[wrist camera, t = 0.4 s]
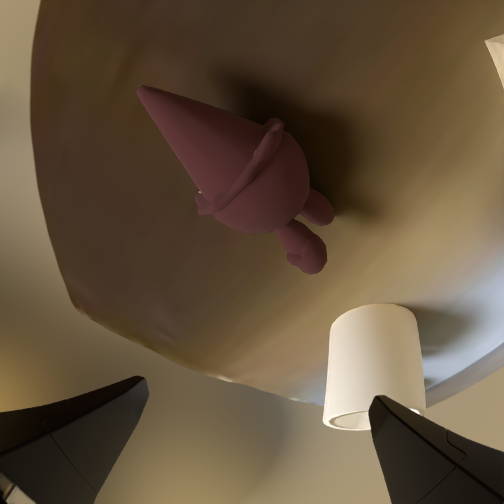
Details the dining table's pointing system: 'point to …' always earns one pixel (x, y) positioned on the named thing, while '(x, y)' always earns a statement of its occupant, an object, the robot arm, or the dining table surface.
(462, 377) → the dining table surface
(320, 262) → the icecream
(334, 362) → the mug
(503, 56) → the cream and gold block
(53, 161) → the dining table surface
